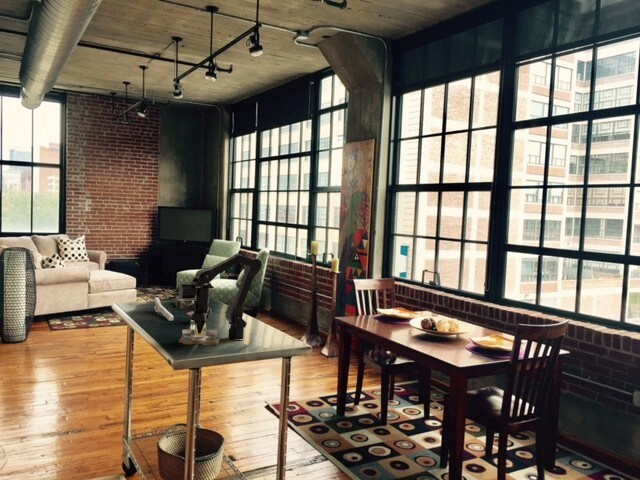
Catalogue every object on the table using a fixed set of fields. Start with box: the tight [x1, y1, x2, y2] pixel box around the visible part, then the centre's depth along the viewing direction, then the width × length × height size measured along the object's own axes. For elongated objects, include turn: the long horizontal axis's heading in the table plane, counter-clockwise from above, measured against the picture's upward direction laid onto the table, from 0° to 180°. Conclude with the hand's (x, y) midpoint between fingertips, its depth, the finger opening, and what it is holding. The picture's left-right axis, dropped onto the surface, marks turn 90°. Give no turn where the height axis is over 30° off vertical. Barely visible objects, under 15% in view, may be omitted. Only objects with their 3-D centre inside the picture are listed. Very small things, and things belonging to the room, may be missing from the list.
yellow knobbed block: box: [194, 323, 207, 336], centre depth 244 cm, size 4×5×5 cm
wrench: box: [153, 296, 175, 322], centre depth 296 cm, size 8×2×30 cm
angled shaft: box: [181, 328, 195, 340], centre depth 243 cm, size 5×3×4 cm, turn 122°
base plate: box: [177, 329, 222, 346], centre depth 244 cm, size 17×11×6 cm, turn 92°
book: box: [174, 295, 196, 309], centre depth 328 cm, size 15×25×5 cm, turn 18°
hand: (200, 332), depth 244 cm, fingers closed on yellow knobbed block, 5 cm apart
